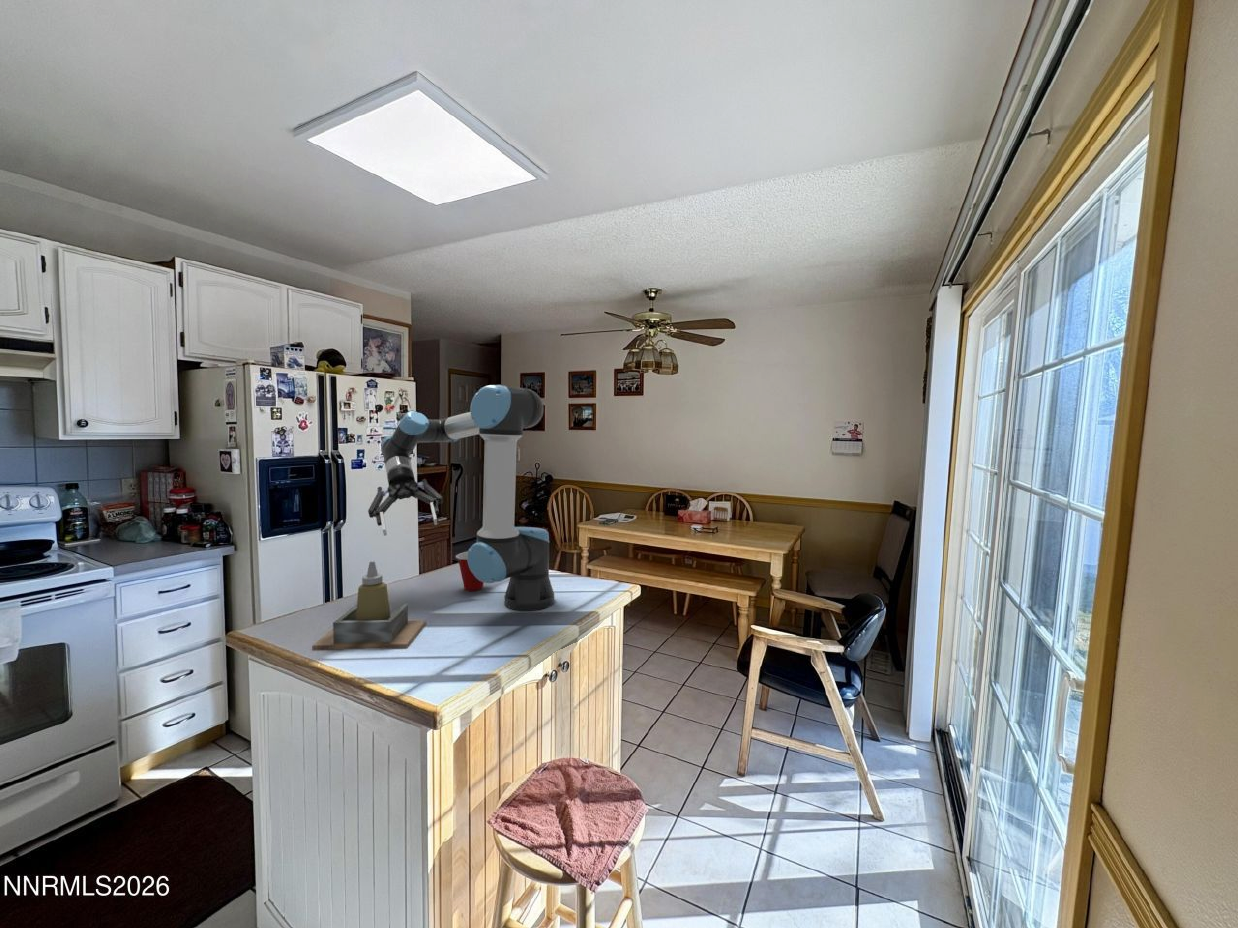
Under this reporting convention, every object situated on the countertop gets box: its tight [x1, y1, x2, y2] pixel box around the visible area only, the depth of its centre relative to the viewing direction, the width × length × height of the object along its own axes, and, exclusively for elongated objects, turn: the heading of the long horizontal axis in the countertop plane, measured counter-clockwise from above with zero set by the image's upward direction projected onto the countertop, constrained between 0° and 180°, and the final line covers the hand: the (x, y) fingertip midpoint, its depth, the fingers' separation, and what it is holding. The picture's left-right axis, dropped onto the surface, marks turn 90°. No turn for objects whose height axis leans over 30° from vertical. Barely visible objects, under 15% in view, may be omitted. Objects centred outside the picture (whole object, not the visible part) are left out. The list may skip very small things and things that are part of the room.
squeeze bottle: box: [355, 560, 391, 621], centre depth 129 cm, size 8×8×18 cm
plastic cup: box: [455, 551, 484, 592], centre depth 168 cm, size 11×11×12 cm
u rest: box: [311, 604, 427, 650], centre depth 129 cm, size 22×15×6 cm
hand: (410, 527), depth 145 cm, fingers open, 13 cm apart
